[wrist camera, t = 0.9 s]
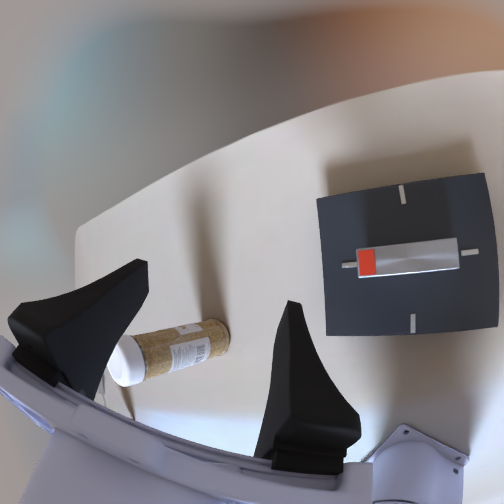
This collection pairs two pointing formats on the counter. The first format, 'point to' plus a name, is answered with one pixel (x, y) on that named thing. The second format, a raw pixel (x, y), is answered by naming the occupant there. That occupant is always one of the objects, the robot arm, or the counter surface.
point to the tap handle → (408, 258)
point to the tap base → (417, 284)
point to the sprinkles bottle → (166, 351)
